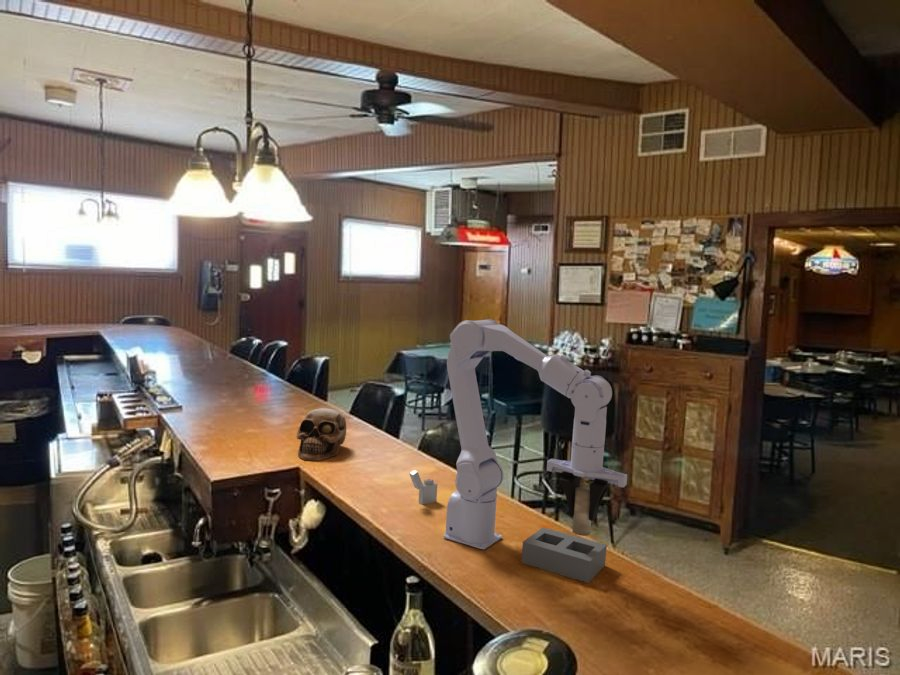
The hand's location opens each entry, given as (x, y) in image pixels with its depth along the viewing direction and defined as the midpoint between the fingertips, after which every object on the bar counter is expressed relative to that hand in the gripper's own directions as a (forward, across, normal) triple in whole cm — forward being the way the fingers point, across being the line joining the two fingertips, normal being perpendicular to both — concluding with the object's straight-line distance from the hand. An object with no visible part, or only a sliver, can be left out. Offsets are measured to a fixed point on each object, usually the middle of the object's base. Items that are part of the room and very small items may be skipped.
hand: (582, 516), depth 118 cm
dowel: (+3, 0, 0) cm, 3 cm away
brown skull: (+10, -88, +25) cm, 92 cm away
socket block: (+10, -3, 0) cm, 10 cm away
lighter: (+10, -42, +10) cm, 44 cm away
